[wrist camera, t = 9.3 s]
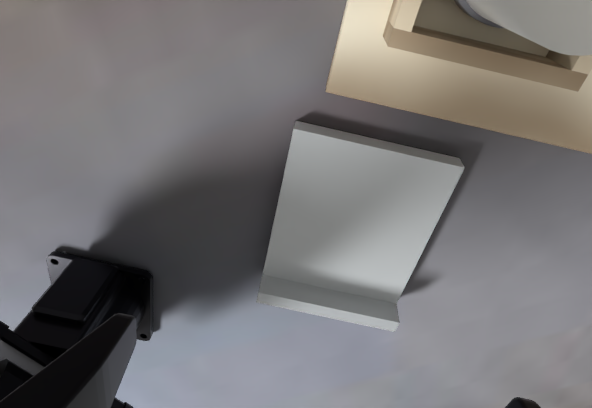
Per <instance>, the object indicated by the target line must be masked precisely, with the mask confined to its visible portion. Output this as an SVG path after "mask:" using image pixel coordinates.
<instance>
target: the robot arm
mask: <svg viewBox="0 0 592 408" xmlns="http://www.w3.org/2000/svg"><path fill="white" fill-rule="evenodd" d="M46 261H47V265H48V270H49V275H50V280H51V285H50V287H49V288H48V289H47V290H46V291H45V292H44V294H43V295H42V296H41V297H40V298H39V299H38V301H37V302H36V303H35V304H34V305H33V307H32V310H31V311H30V312H29V313H28V314H27V316H26V317H25V318H24V319H23V320H22V321H21V323H20V324H19V325H18V326H17V327H16V329H15V330H14V331H11V330H10V329H8V328H9V326H8V325H6V324H4V323H3V322H1V321H0V408H133V407H132V406H131V405H129V404H128V403H126V402H125V403H123V402H121V401H120V400H118V399H117V398H115V395H116V393H117V390H118V388H119V385H120V383H121V380H122V378H123V375H124V373H125V370H126V368H127V365H128V363H129V360H130V358H131V355H132V353H133V350H134V348H135V345H136V339H139V340H143V341H148V340H150V338H151V336H152V334H153V277H152V275H151V273H149V272H148V271H145V270H140V269H136V268H131V267H126V266H122V265H117V264H112V263H108V262H103V261H98V260H94V259H89V258H84V257H80V256H75V255H71V254H66V253H61V252H55V251H54V252H52V253H51V254H50V255H49V256H48V257H47V259H46ZM505 408H541V407H540V406H539V405H538V404H537V403H536V402H534V401H532V400H529V399H524V398H520V397H516V398H514V399H512V400H511V402H510V403H509V404H508V405H507V406H506V407H505Z"/></svg>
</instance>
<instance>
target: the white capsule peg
mask: <svg viewBox="0 0 592 408" xmlns="http://www.w3.org/2000/svg"><path fill="white" fill-rule="evenodd" d="M454 1H455V3H456V4H457V6H458V7H459V8H460V9H461V10H462V11H463V12H464V13H466V14H467V15H469V16H470V17H472V18H474V19H476V20H478V21H480V22H482V23H484V24H486V25H489V26H492V27H497V28H506V29H508V30H510V31H512V32H514V33H516V34H518V35H520V36H522V37H524V38H526V39H529V40H531V41H533V42H535V43H537V44H539V45H541V46H543V47H545V48H547V49H549V50H551V51H555V52H558V53H561V54H566V55H576V56H585V55H592V0H454Z"/></svg>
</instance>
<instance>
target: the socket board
mask: <svg viewBox="0 0 592 408" xmlns="http://www.w3.org/2000/svg"><path fill="white" fill-rule="evenodd" d="M326 92H328V93H332V94H336V95H341V96H345V97H349V98H354V99H358V100H362V101H367V102H371V103H375V104H380V105H384V106H388V107H392V108H397V109H401V110H405V111H410V112H414V113H418V114H423V115H427V116H431V117H436V118H440V119H444V120H448V121H453V122H457V123H461V124H466V125H470V126H474V127H479V128H483V129H487V130H491V131H496V132H500V133H504V134H509V135H513V136H517V137H522V138H526V139H530V140H535V141H539V142H543V143H547V144H552V145H556V146H560V147H565V148H569V149H573V150H578V151H582V152H586V153H591V154H592V55H585V56H576V55H566V54H561V53H558V52H555V51H551V50H549V49H547V48H545V47H543V46H541V45H539V44H537V43H535V42H533V41H531V40H529V39H526V38H524V37H522V36H520V35H518V34H516V33H514V32H512V31H510V30H508V29H506V28H497V27H492V26H489V25H486V24H484V23H482V22H480V21H478V20H476V19H474V18H472V17H470V16H469V15H467V14H466V13H464V12H463V11H462V10H461V9H460V8H459V7H458V6H457V4H456V3H455V1H454V0H347V3H346V7H345V11H344V15H343V19H342V23H341V27H340V31H339V35H338V39H337V43H336V47H335V52H334V56H333V60H332V64H331V68H330V72H329V76H328V80H327V84H326Z"/></svg>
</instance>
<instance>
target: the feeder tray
mask: <svg viewBox="0 0 592 408" xmlns="http://www.w3.org/2000/svg"><path fill="white" fill-rule="evenodd" d="M464 168H465V167H464V166H463V164H462V162H461V160H460V159H459V158H457V157H452V156H448V155H444V154H439V153H435V152H430V151H426V150H422V149H417V148H413V147H409V146H404V145H400V144H396V143H391V142H387V141H382V140H378V139H374V138H369V137H365V136H361V135H356V134H352V133H348V132H343V131H339V130H335V129H330V128H326V127H321V126H317V125H313V124H308V123H304V122H300V121H295V125H294V129H293V134H292V138H291V143H290V148H289V152H288V157H287V162H286V167H285V171H284V176H283V181H282V185H281V190H280V195H279V200H278V204H277V209H276V214H275V218H274V223H273V228H272V232H271V237H270V242H269V247H268V251H267V256H266V261H265V265H264V270H263V275H262V279H261V283H260V287H259V292H258V296H257V301H256V302H257V303H262V304H267V305H271V306H276V307H281V308H285V309H290V310H295V311H299V312H304V313H309V314H313V315H318V316H323V317H327V318H332V319H337V320H341V321H346V322H351V323H355V324H360V325H365V326H369V327H374V328H379V329H383V330H388V331H393V332H395V330H396V329H397V327H398V325H399V323H400V322H399V316H398V310H397V302H398V300H399V298H400V296H401V294H402V292H403V290H404V288H405V286H406V284H407V282H408V280H409V278H410V276H411V274H412V272H413V270H414V268H415V266H416V264H417V262H418V260H419V258H420V256H421V254H422V252H423V250H424V248H425V246H426V244H427V242H428V240H429V238H430V236H431V234H432V232H433V230H434V228H435V226H436V224H437V222H438V220H439V218H440V216H441V214H442V212H443V210H444V208H445V206H446V204H447V202H448V200H449V198H450V196H451V194H452V192H453V190H454V188H455V186H456V184H457V182H458V180H459V178H460V176H461V174H462V172H463V170H464Z"/></svg>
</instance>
